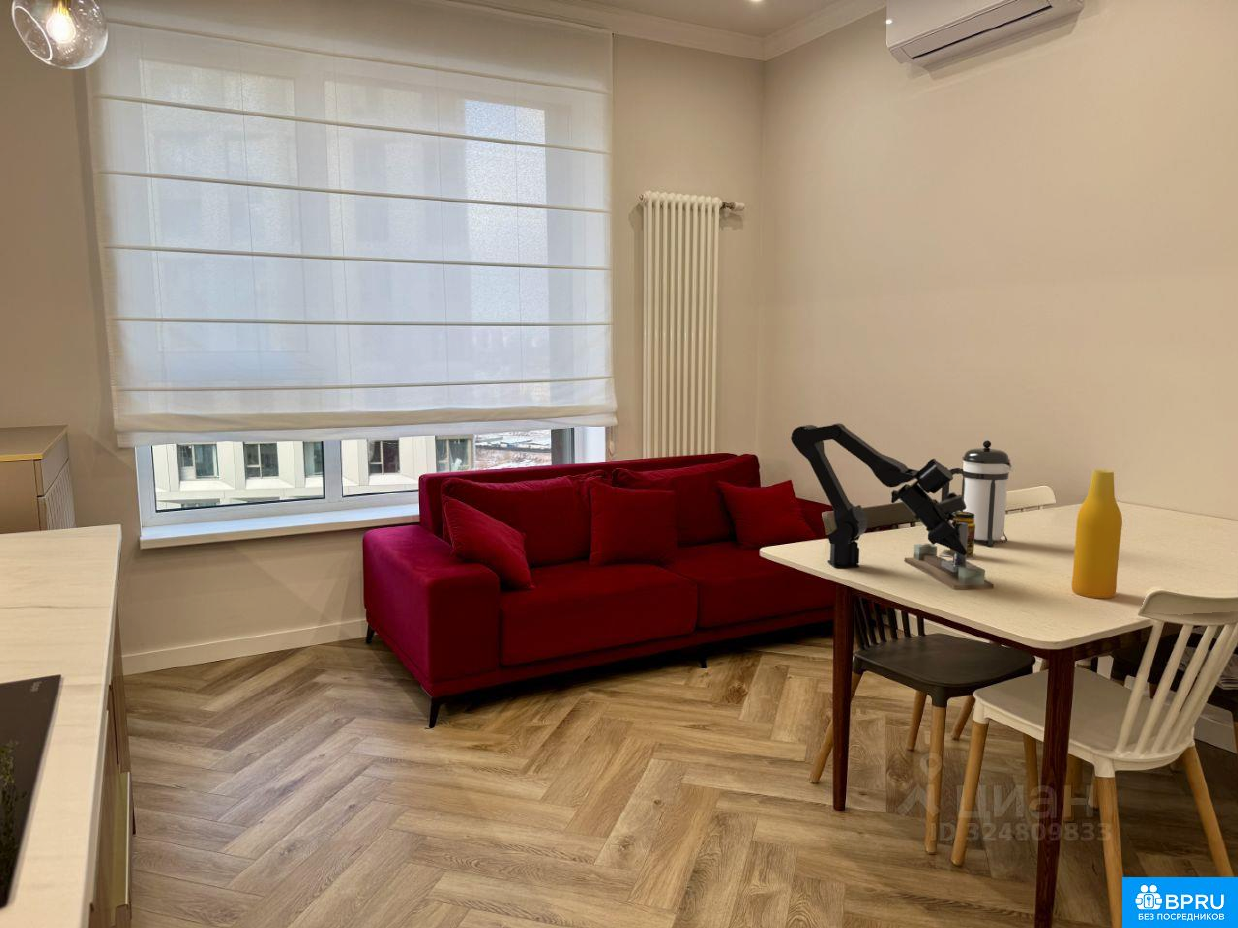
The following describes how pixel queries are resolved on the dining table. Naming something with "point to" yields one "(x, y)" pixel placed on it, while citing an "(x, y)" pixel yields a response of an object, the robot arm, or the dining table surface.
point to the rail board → (944, 575)
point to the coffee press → (984, 490)
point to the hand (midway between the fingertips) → (966, 552)
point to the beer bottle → (1097, 540)
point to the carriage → (958, 558)
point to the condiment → (969, 519)
